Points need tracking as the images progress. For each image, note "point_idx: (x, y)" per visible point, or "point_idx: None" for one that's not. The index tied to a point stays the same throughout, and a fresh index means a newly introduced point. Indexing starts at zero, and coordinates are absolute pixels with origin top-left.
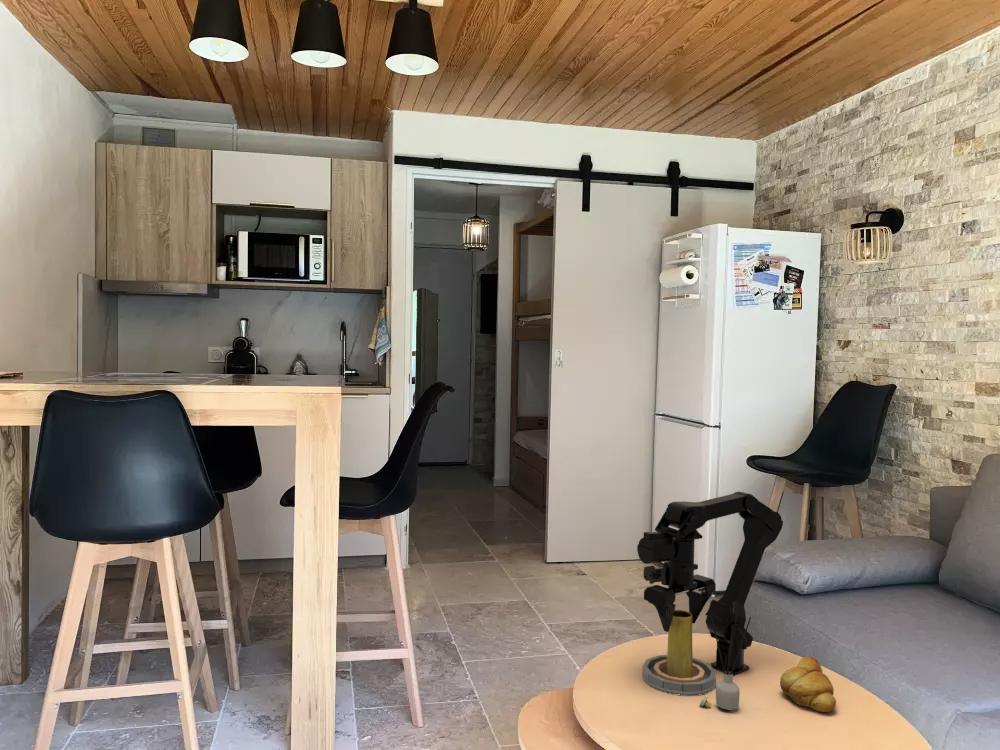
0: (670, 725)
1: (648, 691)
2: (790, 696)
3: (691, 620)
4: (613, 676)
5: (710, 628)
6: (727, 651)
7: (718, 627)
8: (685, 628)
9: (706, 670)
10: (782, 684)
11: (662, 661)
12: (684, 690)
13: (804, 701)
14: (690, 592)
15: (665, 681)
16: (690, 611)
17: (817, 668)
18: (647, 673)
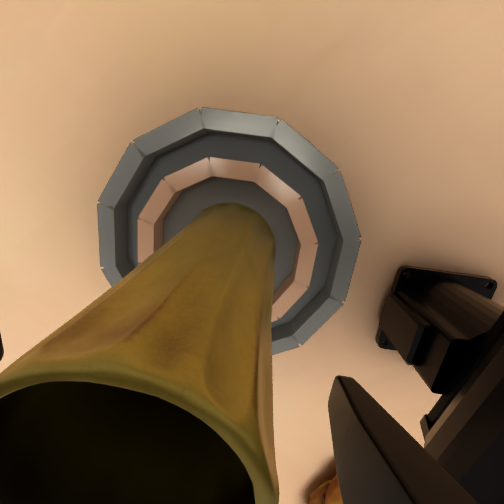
0: (6, 355)
1: (87, 223)
2: (318, 491)
3: None
4: (64, 60)
5: (493, 365)
6: (418, 372)
7: (468, 453)
8: (125, 445)
9: (316, 300)
10: (333, 498)
11: (238, 169)
12: None
13: None
14: None
15: (104, 274)
16: (384, 479)
17: None
18: (103, 192)
